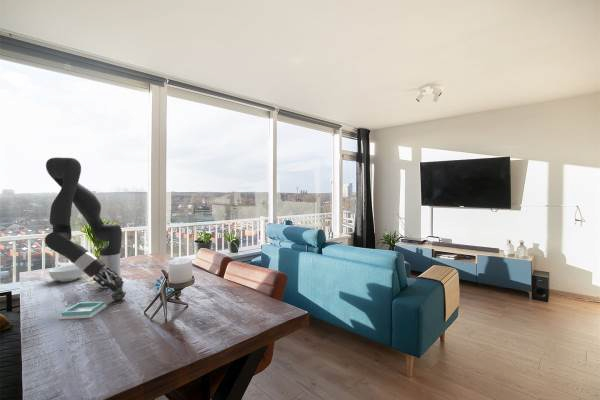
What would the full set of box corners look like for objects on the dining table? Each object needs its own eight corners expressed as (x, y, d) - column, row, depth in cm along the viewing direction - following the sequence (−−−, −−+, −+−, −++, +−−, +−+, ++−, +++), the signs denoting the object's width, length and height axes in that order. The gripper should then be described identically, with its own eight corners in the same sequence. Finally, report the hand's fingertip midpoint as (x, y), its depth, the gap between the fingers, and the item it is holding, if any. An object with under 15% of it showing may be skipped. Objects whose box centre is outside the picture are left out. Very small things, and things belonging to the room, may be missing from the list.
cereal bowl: (81, 274, 177) (81, 262, 177) (91, 278, 167) (91, 266, 167) (45, 280, 163) (45, 268, 163) (54, 286, 153) (54, 273, 153)
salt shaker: (115, 299, 134) (115, 273, 133) (128, 298, 134) (128, 273, 134) (108, 304, 128) (107, 277, 128) (121, 303, 128) (121, 277, 128)
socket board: (78, 307, 124) (78, 302, 124) (106, 306, 125) (106, 300, 125) (59, 319, 112) (59, 313, 112) (90, 317, 114) (90, 311, 114)
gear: (155, 292, 138) (156, 274, 144) (153, 298, 141) (154, 280, 148) (179, 291, 144) (179, 274, 150) (177, 297, 147) (177, 280, 153)
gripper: (90, 261, 121) (121, 285, 125) (102, 254, 135) (130, 276, 138) (75, 274, 120) (107, 298, 123) (89, 266, 133) (117, 288, 137)
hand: (119, 287), depth 131 cm, fingers open, 8 cm apart
